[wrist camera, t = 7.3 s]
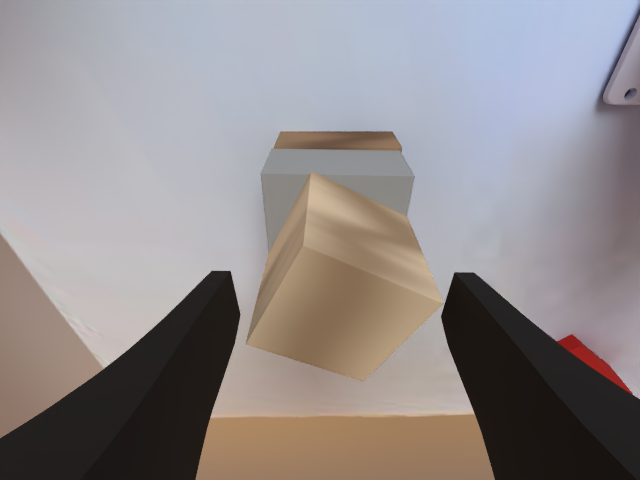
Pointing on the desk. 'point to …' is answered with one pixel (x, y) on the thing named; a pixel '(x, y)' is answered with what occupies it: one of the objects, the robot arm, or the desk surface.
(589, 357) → the bracket
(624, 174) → the desk surface
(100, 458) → the robot arm
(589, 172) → the desk surface
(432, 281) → the birch block
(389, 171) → the slate-grey top block
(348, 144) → the walnut base block
